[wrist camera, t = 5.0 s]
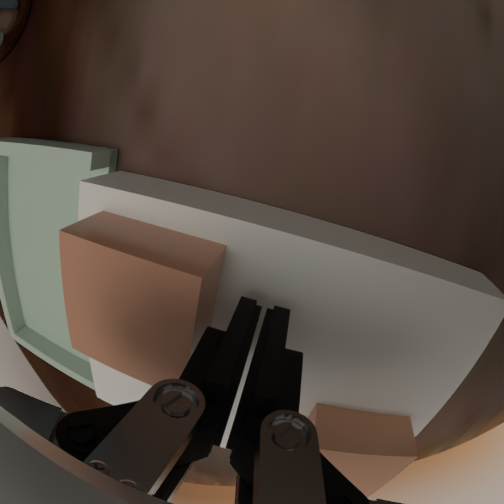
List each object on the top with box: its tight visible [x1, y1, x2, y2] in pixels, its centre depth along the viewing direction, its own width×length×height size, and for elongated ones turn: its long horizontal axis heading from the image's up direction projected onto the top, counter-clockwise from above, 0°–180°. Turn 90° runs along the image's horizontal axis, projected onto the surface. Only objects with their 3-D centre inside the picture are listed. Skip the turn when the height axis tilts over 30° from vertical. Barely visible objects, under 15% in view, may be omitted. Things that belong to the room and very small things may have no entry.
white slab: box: [78, 171, 504, 450], centre depth 13 cm, size 18×13×3 cm
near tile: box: [59, 211, 227, 386], centre depth 10 cm, size 5×5×2 cm
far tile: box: [308, 403, 418, 497], centre depth 11 cm, size 5×5×2 cm
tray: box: [0, 137, 118, 390], centre depth 15 cm, size 10×15×2 cm, turn 167°
